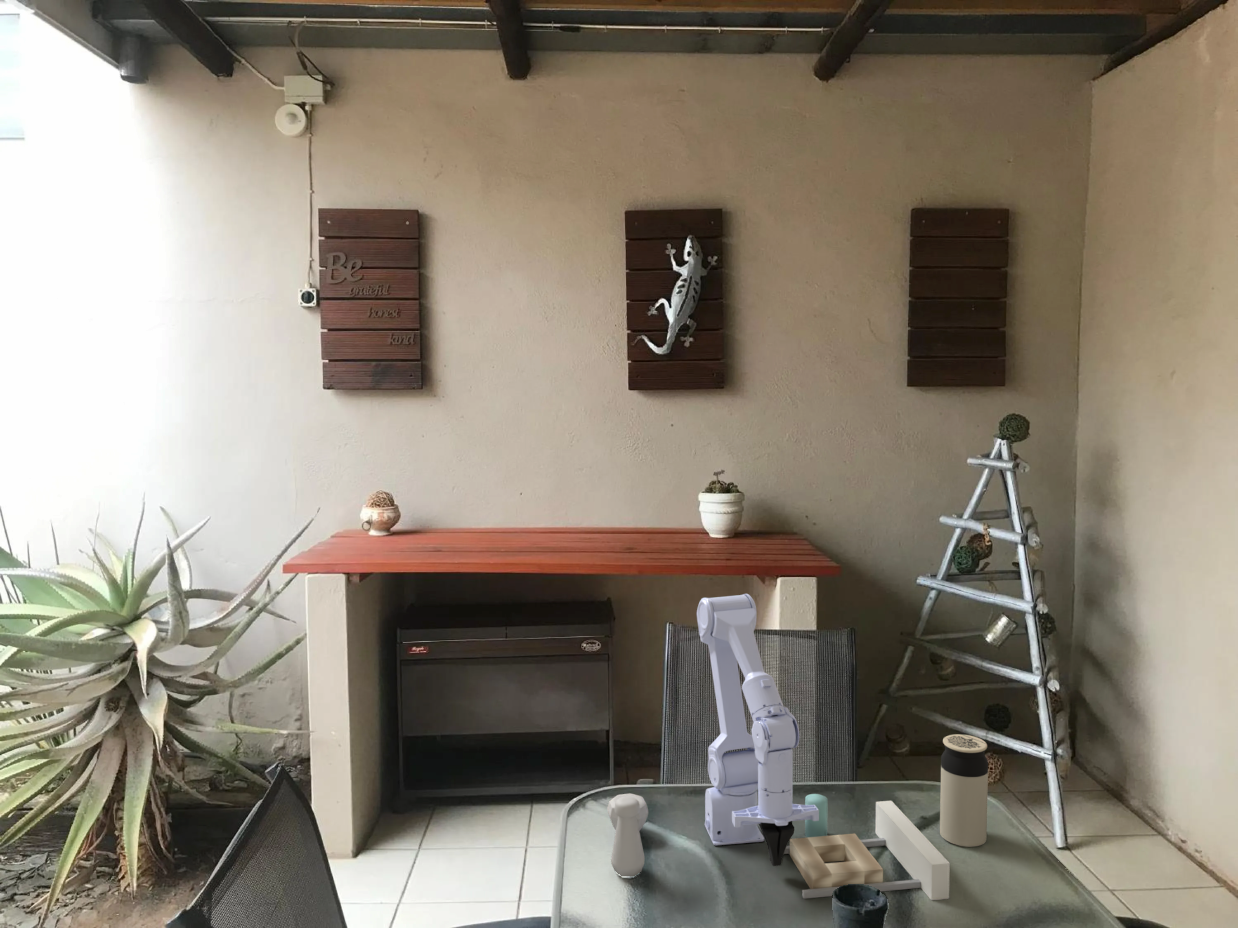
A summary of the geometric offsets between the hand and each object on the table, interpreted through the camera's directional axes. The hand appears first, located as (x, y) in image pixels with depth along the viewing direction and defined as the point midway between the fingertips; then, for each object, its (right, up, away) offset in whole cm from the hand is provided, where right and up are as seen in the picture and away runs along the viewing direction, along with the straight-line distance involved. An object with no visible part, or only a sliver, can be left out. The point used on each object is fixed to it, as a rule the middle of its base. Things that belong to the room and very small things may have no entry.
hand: (775, 862), depth 155 cm
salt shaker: (-25, -3, +2) cm, 25 cm away
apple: (-25, -1, +16) cm, 30 cm away
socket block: (+10, -2, +2) cm, 11 cm away
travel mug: (+36, -1, +12) cm, 38 cm away
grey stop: (+14, -2, +2) cm, 14 cm away
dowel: (+10, -1, +14) cm, 17 cm away
